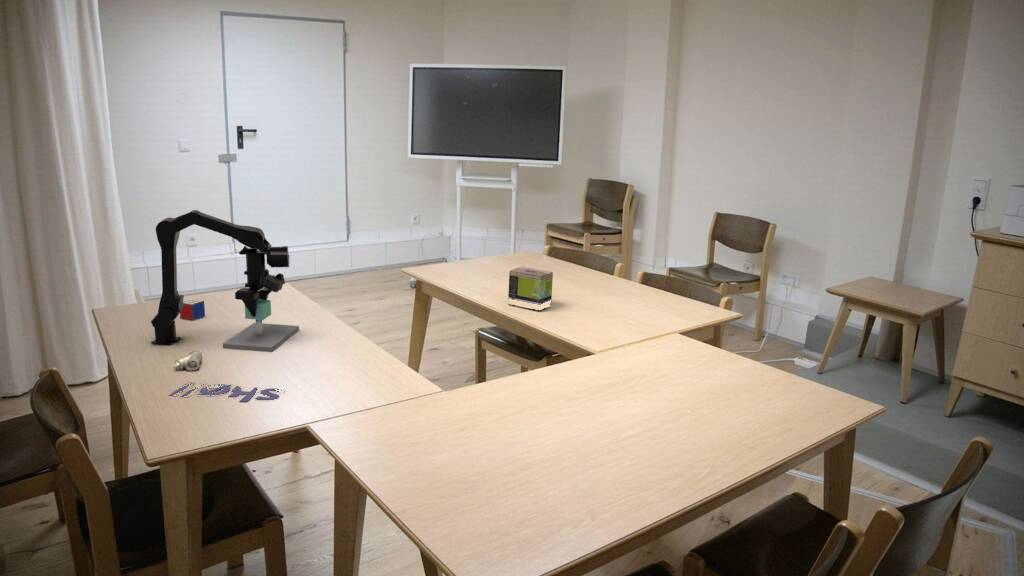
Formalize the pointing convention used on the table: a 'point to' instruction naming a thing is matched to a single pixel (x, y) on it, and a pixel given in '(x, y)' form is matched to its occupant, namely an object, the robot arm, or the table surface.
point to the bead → (260, 310)
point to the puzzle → (192, 309)
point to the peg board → (261, 337)
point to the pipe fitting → (189, 361)
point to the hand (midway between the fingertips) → (258, 313)
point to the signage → (235, 391)
